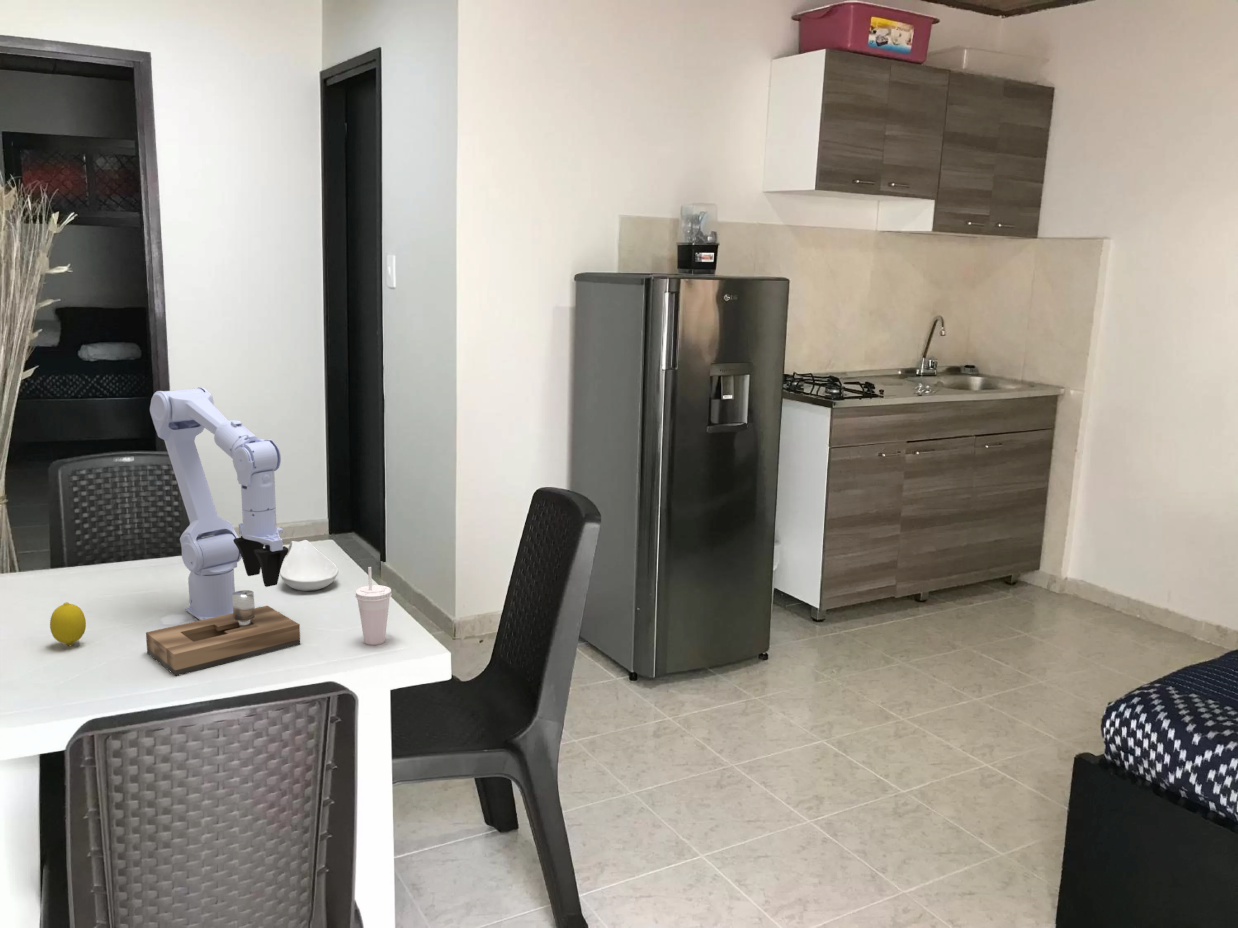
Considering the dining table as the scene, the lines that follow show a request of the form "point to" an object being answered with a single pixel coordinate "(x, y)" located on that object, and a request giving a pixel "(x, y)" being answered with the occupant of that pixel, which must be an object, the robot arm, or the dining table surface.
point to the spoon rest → (307, 567)
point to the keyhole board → (221, 640)
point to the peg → (243, 607)
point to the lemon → (67, 623)
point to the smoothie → (373, 611)
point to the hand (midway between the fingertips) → (262, 580)
